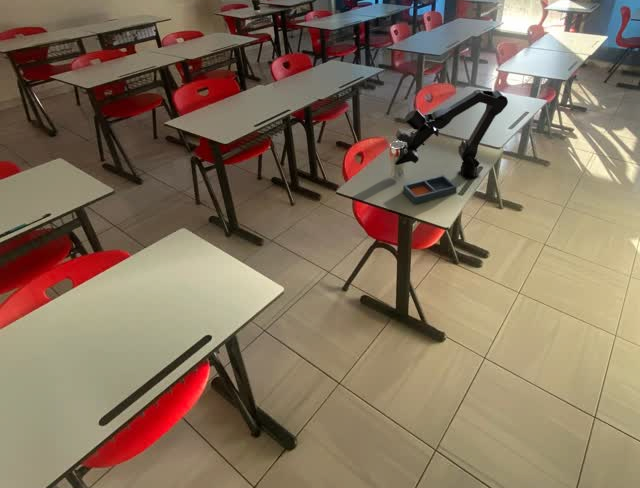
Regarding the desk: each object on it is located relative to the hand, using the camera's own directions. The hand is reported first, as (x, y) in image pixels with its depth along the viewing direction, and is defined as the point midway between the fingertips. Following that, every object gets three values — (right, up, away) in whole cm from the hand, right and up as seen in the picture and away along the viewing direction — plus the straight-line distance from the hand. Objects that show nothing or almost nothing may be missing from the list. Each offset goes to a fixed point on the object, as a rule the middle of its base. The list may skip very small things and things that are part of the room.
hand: (394, 160), depth 178 cm
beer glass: (+1, -6, +4) cm, 8 cm away
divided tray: (+14, -13, -5) cm, 20 cm away
